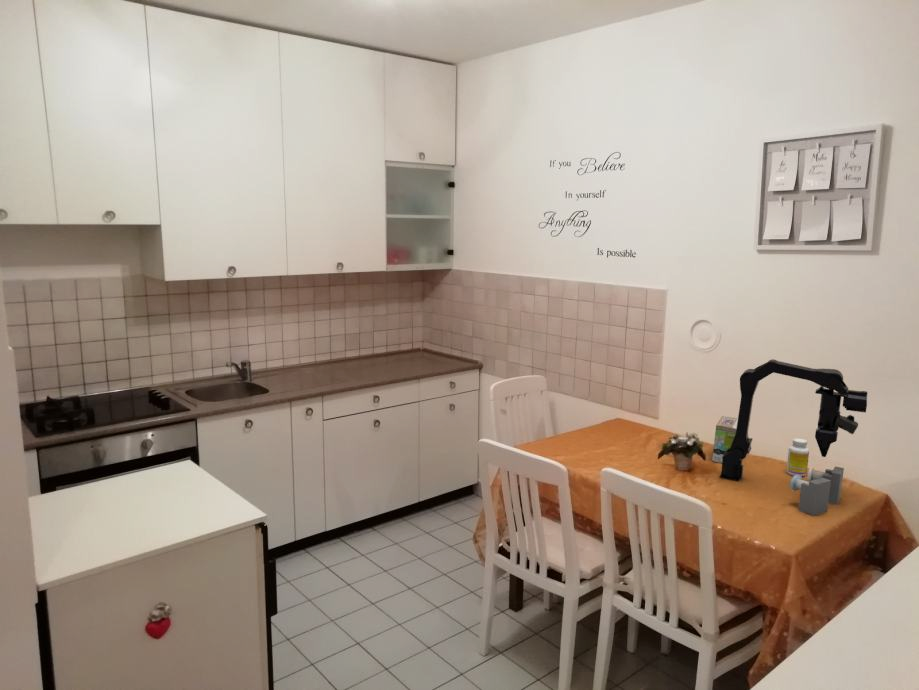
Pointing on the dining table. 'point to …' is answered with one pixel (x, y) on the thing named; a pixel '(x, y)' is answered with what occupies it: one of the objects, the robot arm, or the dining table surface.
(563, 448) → the dining table surface
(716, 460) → the tea box
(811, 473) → the button ivory
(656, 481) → the dining table surface
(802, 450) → the supplement bottle
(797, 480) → the button blue
